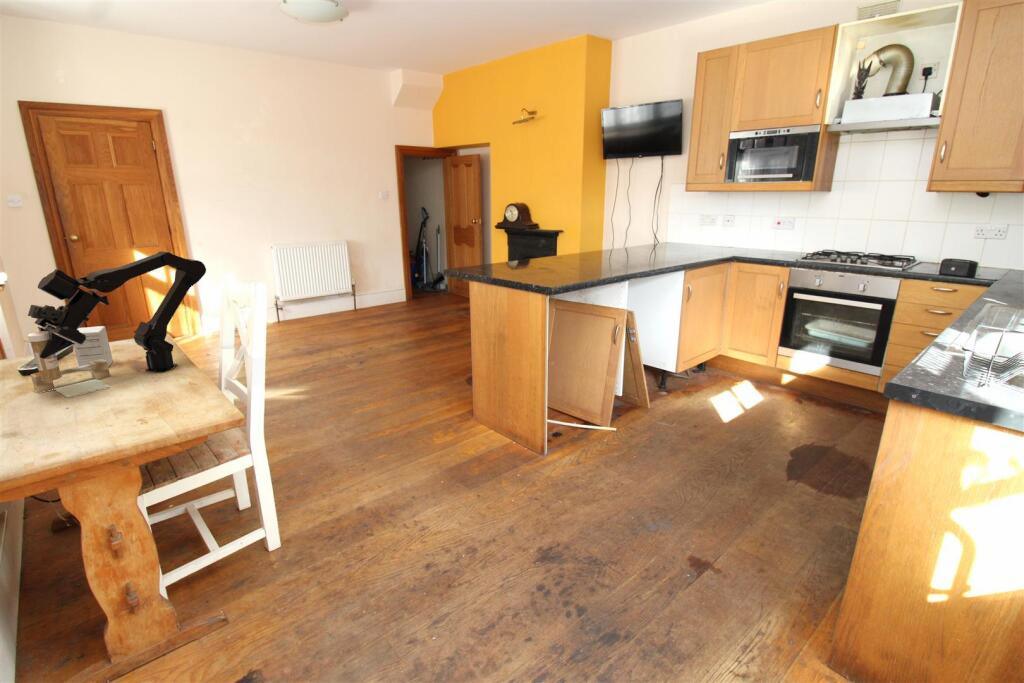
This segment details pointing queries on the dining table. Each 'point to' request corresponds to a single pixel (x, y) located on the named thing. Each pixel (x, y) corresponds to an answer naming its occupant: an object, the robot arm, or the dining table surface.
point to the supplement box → (93, 346)
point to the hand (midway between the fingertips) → (38, 356)
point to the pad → (81, 388)
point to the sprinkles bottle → (48, 365)
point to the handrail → (97, 370)
